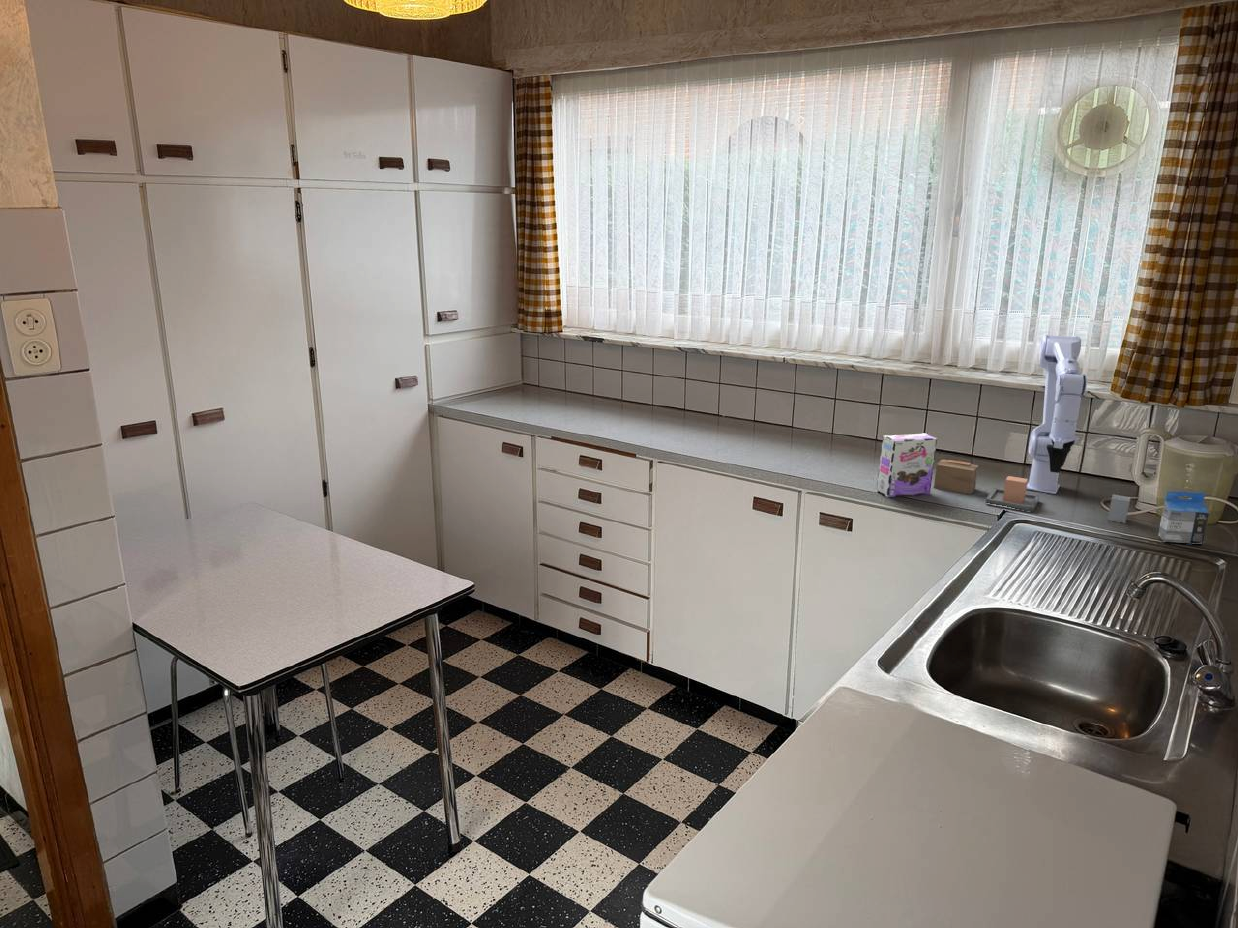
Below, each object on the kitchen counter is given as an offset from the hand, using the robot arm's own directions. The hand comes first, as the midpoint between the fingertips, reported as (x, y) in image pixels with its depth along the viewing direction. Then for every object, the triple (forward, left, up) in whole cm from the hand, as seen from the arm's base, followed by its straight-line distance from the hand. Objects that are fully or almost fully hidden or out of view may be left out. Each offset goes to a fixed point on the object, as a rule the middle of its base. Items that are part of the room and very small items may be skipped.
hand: (1056, 468), depth 233 cm
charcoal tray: (+4, -9, -10) cm, 14 cm away
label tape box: (+11, +30, -11) cm, 34 cm away
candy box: (+13, -36, -11) cm, 40 cm away
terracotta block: (+4, -9, -10) cm, 14 cm away
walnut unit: (0, -25, -10) cm, 27 cm away
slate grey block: (+2, +16, -10) cm, 19 cm away
